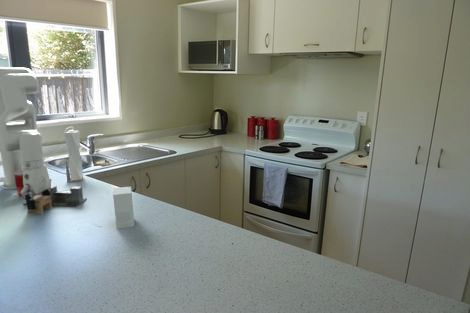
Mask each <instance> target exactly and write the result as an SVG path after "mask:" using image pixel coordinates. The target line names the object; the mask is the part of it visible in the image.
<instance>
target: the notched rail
mask: <svg viewBox="0 0 470 313" xmlns="http://www.w3.org/2000/svg"><path fill="white" fill-rule="evenodd" d="M50 189H51V190H50V191H49V192H50V196H51V204H52V207H58V208H59V207H61V208H62V207H64V208H65V207H67V208H77V207H79V206H80V205H81V204H84V202H86V201H87V200H88V198H87V197H86V198H85V197H84V194H83V187H82V186H76V185H75V186H72V187H71V188H69V190H60V189H59V190H58V187H57V185H51V187H50ZM42 192H43V191H42ZM42 192H40V193H38V194H35V195H34V196H36V195H42ZM29 196H31V194H29ZM22 205H23V206H24V207H25V206H26V207H27V204H26V202H24V203H23V204H22Z"/></svg>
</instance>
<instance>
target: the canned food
mask: <svg viewBox="0 0 470 313" xmlns="http://www.w3.org/2000/svg"><path fill="white" fill-rule="evenodd" d="M14 176H15V182H16V188H17V189H16V194H17V196H18V197H20V198H23V197H22V195H21V193H20V192H21V191H22V189H23V188H24V185H23V170H20V171H17V172H15V173H14Z"/></svg>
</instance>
